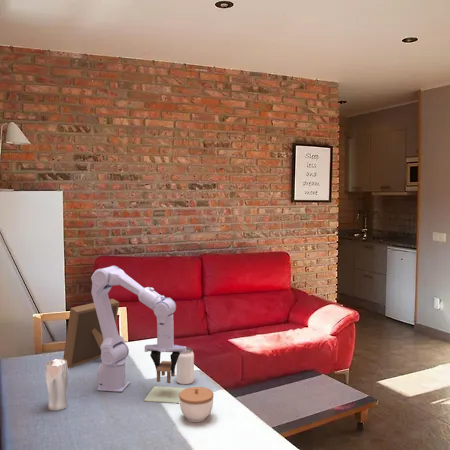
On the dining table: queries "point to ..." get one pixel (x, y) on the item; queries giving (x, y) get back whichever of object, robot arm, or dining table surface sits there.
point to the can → (185, 367)
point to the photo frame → (84, 334)
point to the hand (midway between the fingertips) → (165, 372)
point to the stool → (164, 370)
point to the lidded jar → (196, 403)
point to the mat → (164, 395)
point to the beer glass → (57, 383)
